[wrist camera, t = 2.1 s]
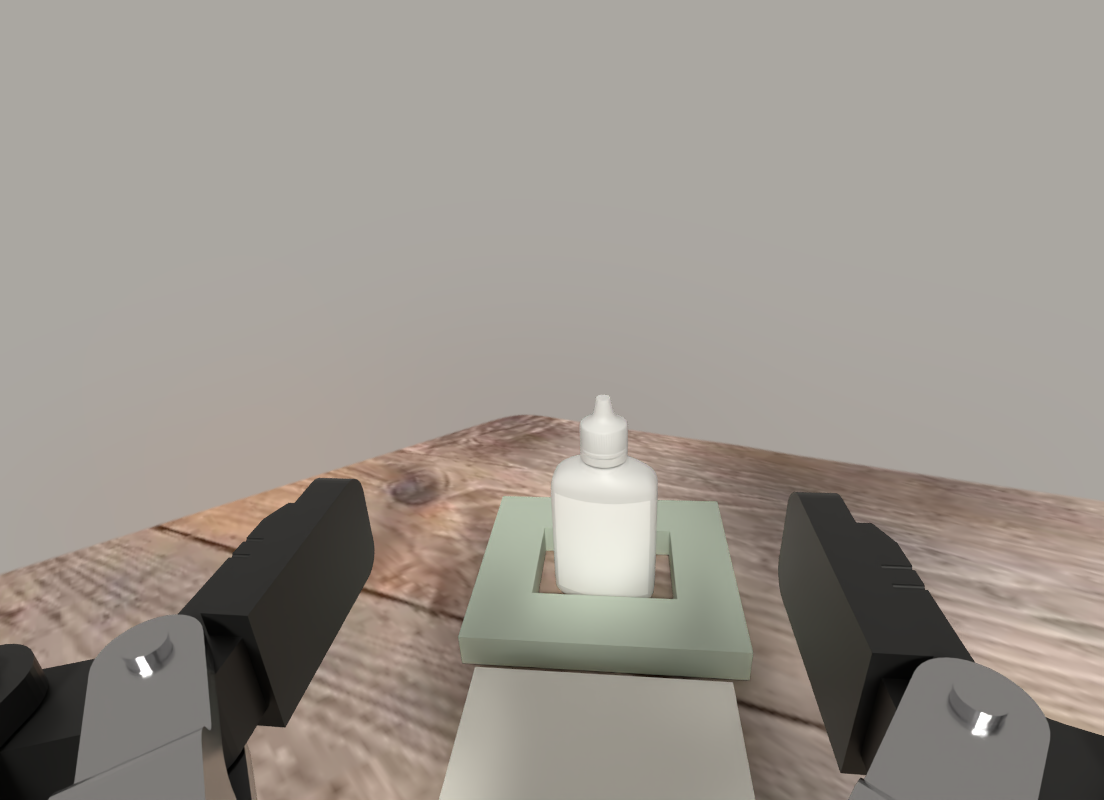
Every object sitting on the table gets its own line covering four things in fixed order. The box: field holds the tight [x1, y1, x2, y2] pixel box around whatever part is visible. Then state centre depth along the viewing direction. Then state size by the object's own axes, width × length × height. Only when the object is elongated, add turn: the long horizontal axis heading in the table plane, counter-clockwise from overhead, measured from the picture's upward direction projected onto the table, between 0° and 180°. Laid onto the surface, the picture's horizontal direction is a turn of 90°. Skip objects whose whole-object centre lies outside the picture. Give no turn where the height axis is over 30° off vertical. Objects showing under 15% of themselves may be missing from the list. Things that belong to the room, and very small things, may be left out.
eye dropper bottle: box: [551, 395, 658, 598], centre depth 32 cm, size 4×6×12 cm
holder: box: [458, 496, 753, 680], centre depth 34 cm, size 14×12×2 cm
